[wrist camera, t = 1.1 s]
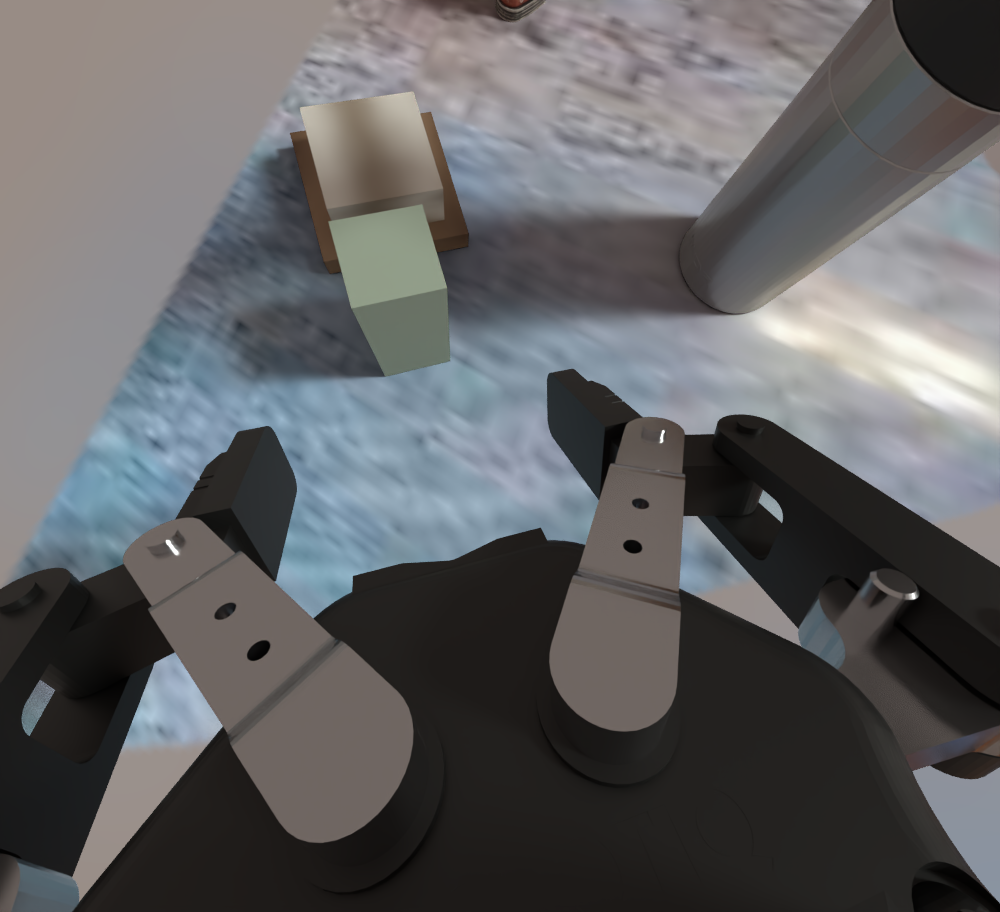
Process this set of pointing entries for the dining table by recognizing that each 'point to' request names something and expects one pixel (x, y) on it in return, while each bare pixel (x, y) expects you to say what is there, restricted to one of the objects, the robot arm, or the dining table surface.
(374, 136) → the build base
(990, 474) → the dining table surface
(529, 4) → the lighter
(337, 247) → the green post
